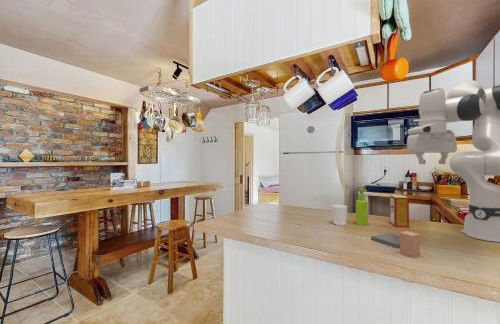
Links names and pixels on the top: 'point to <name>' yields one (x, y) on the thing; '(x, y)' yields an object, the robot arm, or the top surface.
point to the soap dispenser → (361, 209)
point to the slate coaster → (388, 239)
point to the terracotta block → (410, 244)
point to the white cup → (339, 214)
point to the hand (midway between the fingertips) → (432, 164)
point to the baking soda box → (399, 211)
